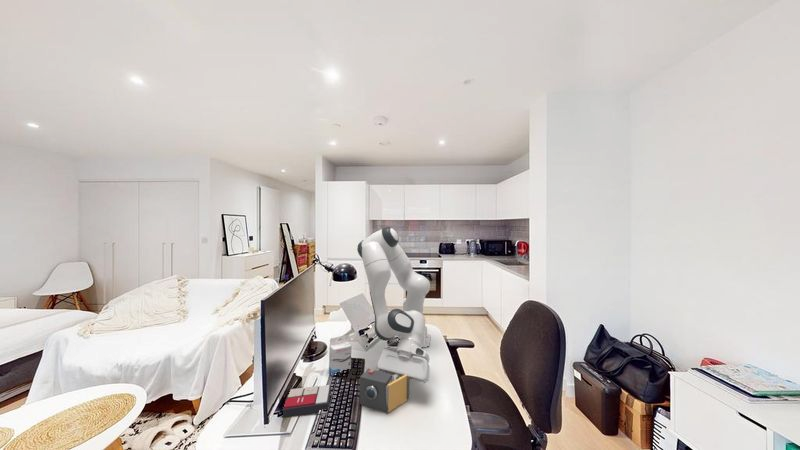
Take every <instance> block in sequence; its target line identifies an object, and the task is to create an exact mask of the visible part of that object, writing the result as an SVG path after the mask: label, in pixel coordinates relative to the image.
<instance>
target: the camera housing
mask: <svg viewBox="0 0 800 450" xmlns="http://www.w3.org/2000/svg"><path fill="white" fill-rule="evenodd" d="M391 382H393V375H392V374H388V373H384V372H381V371H379V370H375V369H371V368H367V369H366V370H365V371H364V372H363V373H362V374H361V375H360V377H359V405H360V404H361V407H364V408H369V409H372V410H374V411H378V412H381V413H385V404H386V385H388V384H389V383H391Z"/></svg>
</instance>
